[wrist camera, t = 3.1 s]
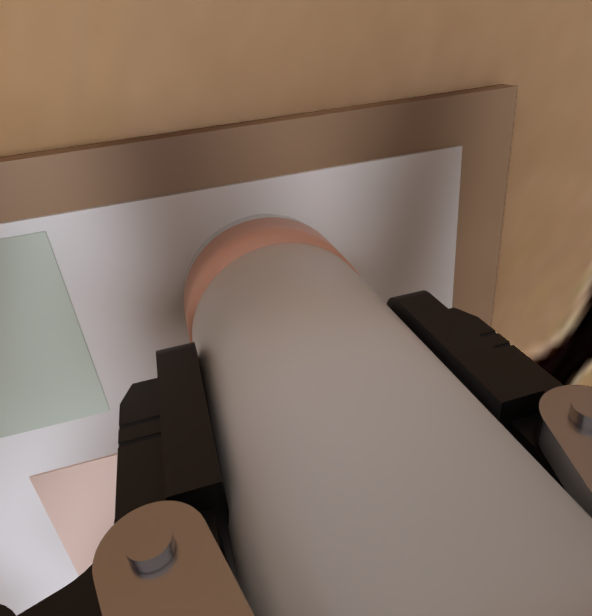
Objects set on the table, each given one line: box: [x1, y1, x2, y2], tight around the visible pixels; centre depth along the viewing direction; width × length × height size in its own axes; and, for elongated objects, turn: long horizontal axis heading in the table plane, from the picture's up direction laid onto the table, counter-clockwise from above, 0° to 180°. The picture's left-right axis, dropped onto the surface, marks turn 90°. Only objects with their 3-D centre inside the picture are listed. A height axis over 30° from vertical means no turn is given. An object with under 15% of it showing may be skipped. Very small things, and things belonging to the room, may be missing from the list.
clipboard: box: [0, 84, 518, 616], centre depth 14 cm, size 20×16×1 cm
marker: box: [184, 214, 592, 616], centre depth 8 cm, size 4×4×12 cm
